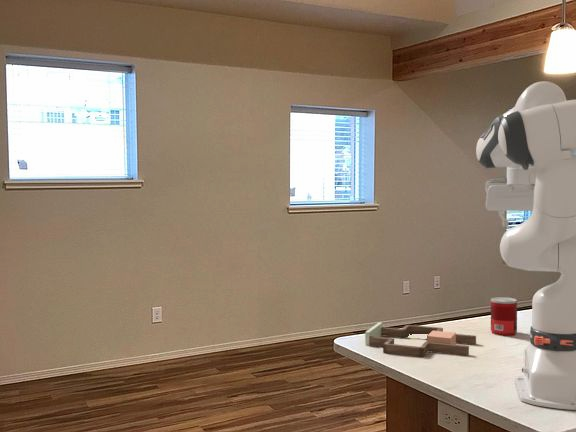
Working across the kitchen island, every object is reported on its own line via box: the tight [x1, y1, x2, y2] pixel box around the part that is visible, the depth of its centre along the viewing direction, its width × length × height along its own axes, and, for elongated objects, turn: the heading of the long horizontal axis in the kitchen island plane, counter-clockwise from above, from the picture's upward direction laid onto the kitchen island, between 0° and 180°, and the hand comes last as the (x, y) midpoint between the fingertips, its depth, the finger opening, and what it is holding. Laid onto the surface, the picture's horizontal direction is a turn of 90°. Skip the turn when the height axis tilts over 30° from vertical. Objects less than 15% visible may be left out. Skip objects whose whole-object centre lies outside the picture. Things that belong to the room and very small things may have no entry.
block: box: [426, 330, 457, 345], centre depth 187 cm, size 7×7×4 cm
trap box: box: [364, 321, 477, 358], centre depth 190 cm, size 25×31×4 cm
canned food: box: [490, 296, 518, 337], centre depth 201 cm, size 8×8×11 cm
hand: (522, 226), depth 178 cm, fingers open, 8 cm apart
